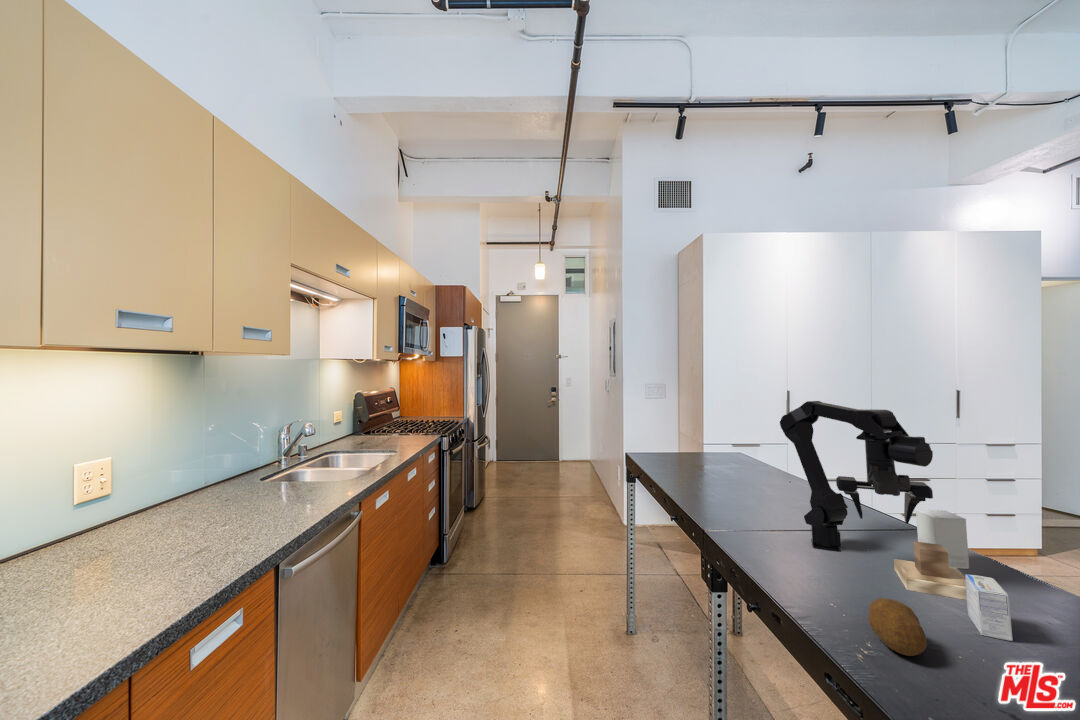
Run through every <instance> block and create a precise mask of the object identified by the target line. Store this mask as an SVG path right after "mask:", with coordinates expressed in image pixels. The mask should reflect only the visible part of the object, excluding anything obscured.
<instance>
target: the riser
mask: <svg viewBox="0 0 1080 720" xmlns="http://www.w3.org/2000/svg"><path fill="white" fill-rule="evenodd" d="M893 565H894V566H893V568H894V571H895V572H896V575H898V577H899V579H900V581H901V582H902V584H903V586H904V587H905V589H906V591H912V592H918V593H923V594H930V595H935V596H936V595H937V596H941V597H942V596H943V597H948V598H952V599H953V598H955V599H960V600H965V601H967V594H966V582H965V575H964V573H962V572H961V571H960V570H959V568H954V567H949V578H950V579H947V578H940V577H933V576H927V575H921V574H920V572H919V571H918V570H917V568H916V567H915V561H911V560H905V559H904V560H903V559H896V558H893Z"/></svg>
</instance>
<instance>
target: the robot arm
mask: <svg viewBox="0 0 1080 720" xmlns="http://www.w3.org/2000/svg"><path fill="white" fill-rule="evenodd" d="M819 417H821V418H825V419H830V420H834V421H837V422H838V421H840V422H842V423H848V424H850V425H851V426H853V427H855V428H856V429H858V430H860V431H862V432H861V433H860V434H858V435H857V436H856V440H861V441H864V445H865V446H864V447H865V463H866V480H867V481H866V480H865V481H862V480H856V478H855V477H854V476H843V475H842V476H841V475H838V476H837V477H836V479H835V482H836V484H835V485H836V487H837V490H838V491H840V492H839V493H838V492H837V493H836V492H835V490H833V489H832V487H831V486H830V483H829V480H828V477H827V475H826V472H825V470H824V468H823V466H822V465H823V464H822V462H821V459H820V457H819V455H818V452H817V450H816V447H815V445H814V443H813V436H814V427H813V425H814V424H815V423H816V422H817V421H818V420H819ZM779 425H780V429H781V430H782V432H783V433H784V436H785V437H786V438H787V439H788V440H789V441H790V442H792V444H793V445H794V448H795V450H796V454H797V455H798V458H799V461H800V463H801V467H802V469H803V471H804V475H805V477H806V480H807V482H808V484H809V485H808V486H809V489H810V490H811V494H810V500H809V504H810V508H811V510H809V511H808V512H807V513H806V514H804V516H803V518H804V522H805V523H806V525H809V526H810V528H811V529H810V530H811V540H810V541H811V547H812V548H815V549H820V550H821V549H822V550H828V551H834V552H835V551H837V552H841V547H842V544H841V543H842V542H841V541H842V540H841V531H840V530H839V529H838V526H842V525H843V523H844V521H845V519H846V518H847V516H848V508H849V506H848V505H847V504H846V502H845V499H844V496H843V493H844V494H845V495H848V496H850V498H851V500H852V502H853V505H854V506H855V509H856V512H857V514H858V516H859V518H860V519H861V520H862V519H863V510H862V509H863V508H862V504H861V501H860V500H861V499H860V493H859V491H858V489H860V490H861V489H863V490H873V491H874V492H875V494H877V495H880V496H881V495H882V496H883V495H887V496H888V495H889V496H893V497H900V496H901V493H904V502H903V503H904V508H903V509H904V511H903V512H904V515H903V516H904V522H905V524H906V525H909V522H910V520H911V518H912V515H913V513H914V512H915V511H914V510H915V509H916V507H917V506H918V504H919V503H920V502H926V500H927V499H934V494H933V489H932V487H930V485H928V484H927V483H926V482H924V481H911V479H910V476H909V475H907V474H906V475H905V474H897V472H896V467H895V462H896V463H901V464H907V465H912V466H918V467H924V468H925V467H928V466H929V465H930V464H931V463H932V460H933V457H934V456H933V455H934V453H933V450H932V448H931V446H930V444H928V442H926V437H924V436H910V435H909V434H908V433H907V431H906V430H905V429H904V427H903V426H902V425H901V424H900V422H899V421H898V420H897V417H896V415H895V414H894V412H893V411H891V410H888V409H872V408H871V409H861V408H860V409H857V408H854V407H847V406H842V405H836V404H832V403H827V402H822V401H820V400H810V401H808V400H807V401H805V402H803V404H802V405H800V406H798V407H797V408H795V409H794V410H791V411H789V412H788V413H787V414H784V415H782V417H781V418H780V421H779ZM841 492H843V493H841Z"/></svg>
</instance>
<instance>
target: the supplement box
mask: <svg viewBox="0 0 1080 720" xmlns="http://www.w3.org/2000/svg"><path fill="white" fill-rule="evenodd" d="M915 514H916V516H915V518H916V530H917V542H923V543H931V544H939V545H941V546H942V547H943V548H944V549H945V550H946V551H947V552H948V563H949V567H954V568H957V569H963V570H965V569H966V570H969V569H970V560H969V545H968V532H967V519H966V518H964V517H962V516H960V515H957V514H955V513H952V512H950V511H947V510H940V509H939V510H937V509H936V510H935V509H933V510H931V509H916V510H915Z"/></svg>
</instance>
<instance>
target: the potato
mask: <svg viewBox="0 0 1080 720" xmlns="http://www.w3.org/2000/svg"><path fill="white" fill-rule="evenodd" d="M867 618H868V623H869V625H870V628H871V629H872V631H873V633H874V634H875V635H876V636H877V638H879V640H880V641H881V642H882V643H883V644H884V645H885V646H887V648H889V649H890V650H892V651H895V652H896V653H898V654H901V655H903V656H906V657H907V656H909V657H914V656H919V655H921V654H922V653H924V652H925V650H926V649H927V646H928V638H927V635H926V633H925V631H924V628H923V627H922V626H921V624H920V620H919V618H918V616H917V615H916V613H915V612H914V611H913V609H912V608H911V607H910V606H909V605H907V604H904V603H903V602H901V601H899V600H896V599H892V598H884V597H882V598H877V599H875V600H873V601H872V602H871V603H870V604H869V605H868V617H867Z"/></svg>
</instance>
